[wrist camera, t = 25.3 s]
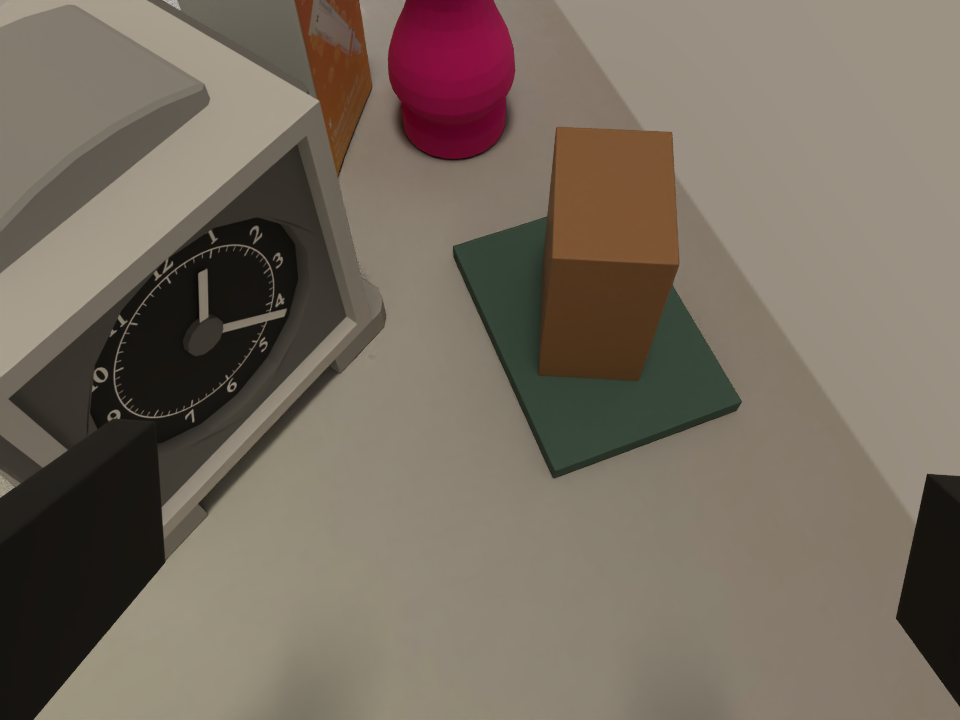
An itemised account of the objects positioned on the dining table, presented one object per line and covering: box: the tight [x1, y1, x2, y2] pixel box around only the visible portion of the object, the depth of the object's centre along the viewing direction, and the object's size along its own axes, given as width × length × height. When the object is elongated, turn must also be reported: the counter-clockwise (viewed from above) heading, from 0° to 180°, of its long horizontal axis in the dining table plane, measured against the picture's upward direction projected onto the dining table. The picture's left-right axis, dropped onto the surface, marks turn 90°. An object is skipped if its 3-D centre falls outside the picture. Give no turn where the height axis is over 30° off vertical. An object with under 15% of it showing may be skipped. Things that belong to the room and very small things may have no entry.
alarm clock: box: [0, 0, 386, 560], centre depth 35 cm, size 18×13×18 cm
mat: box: [453, 217, 742, 478], centre depth 43 cm, size 14×10×1 cm
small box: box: [177, 0, 372, 176], centre depth 45 cm, size 8×6×13 cm
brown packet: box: [538, 127, 679, 381], centre depth 38 cm, size 5×7×10 cm
